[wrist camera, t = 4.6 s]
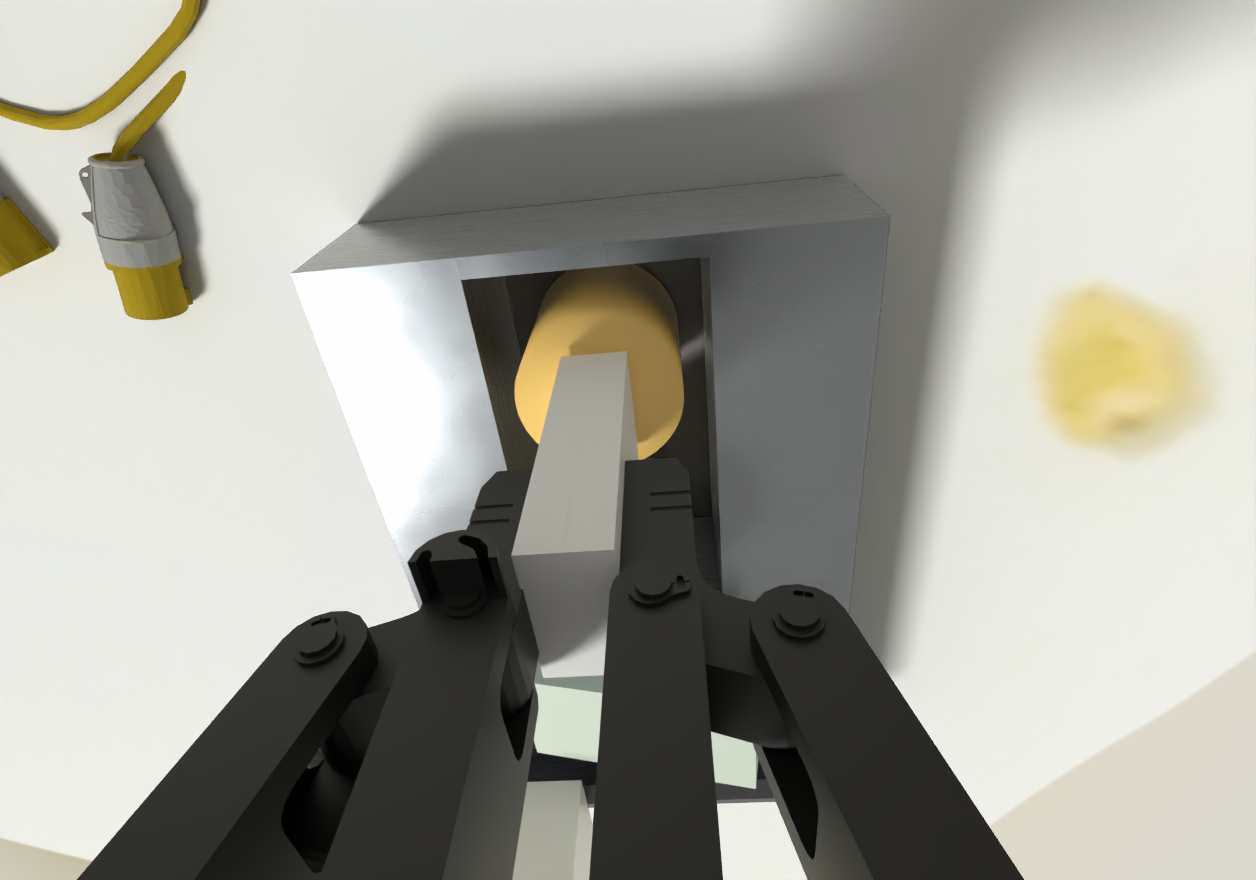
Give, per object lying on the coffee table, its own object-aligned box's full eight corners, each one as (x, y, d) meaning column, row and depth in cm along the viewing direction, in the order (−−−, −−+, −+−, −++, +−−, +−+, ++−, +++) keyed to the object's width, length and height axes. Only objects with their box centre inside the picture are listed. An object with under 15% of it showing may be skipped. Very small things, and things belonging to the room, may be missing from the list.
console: (355, 223, 18) (265, 293, 14) (843, 174, 17) (908, 232, 13) (513, 720, 30) (490, 841, 26) (808, 708, 29) (836, 832, 25)
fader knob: (511, 782, 23) (492, 893, 20) (581, 780, 23) (572, 891, 20) (528, 832, 25) (512, 941, 22) (593, 829, 24) (586, 939, 22)
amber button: (527, 266, 19) (498, 328, 15) (672, 252, 18) (678, 312, 15) (550, 393, 21) (531, 473, 17) (681, 383, 20) (688, 463, 17)
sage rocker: (528, 653, 21) (516, 680, 20) (758, 684, 19) (755, 715, 18) (547, 725, 23) (537, 752, 22) (758, 757, 21) (756, 788, 20)
